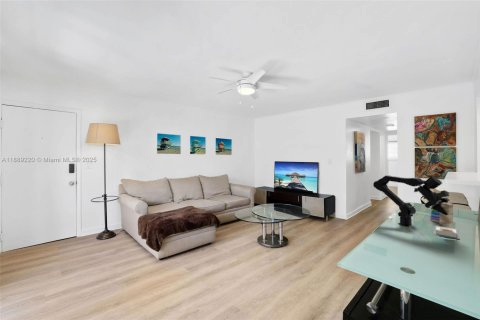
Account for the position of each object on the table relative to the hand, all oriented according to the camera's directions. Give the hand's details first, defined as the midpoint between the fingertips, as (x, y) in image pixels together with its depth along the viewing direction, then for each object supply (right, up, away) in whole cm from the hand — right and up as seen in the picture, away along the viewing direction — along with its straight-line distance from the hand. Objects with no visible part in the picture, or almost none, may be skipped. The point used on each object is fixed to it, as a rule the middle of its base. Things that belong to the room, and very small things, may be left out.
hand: (449, 214), depth 133 cm
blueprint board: (+4, -13, +6) cm, 15 cm away
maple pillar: (-1, -7, +1) cm, 7 cm away
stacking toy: (+19, -13, +29) cm, 37 cm away
